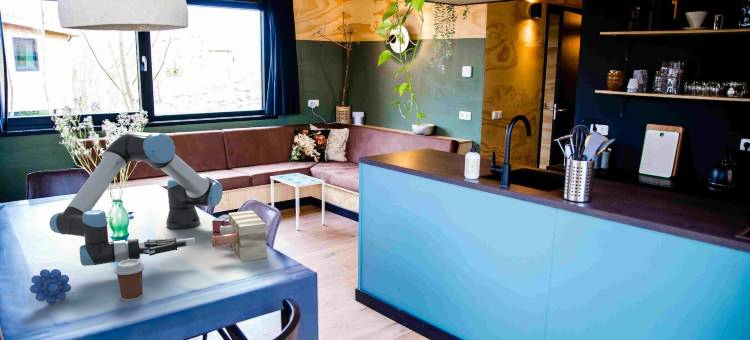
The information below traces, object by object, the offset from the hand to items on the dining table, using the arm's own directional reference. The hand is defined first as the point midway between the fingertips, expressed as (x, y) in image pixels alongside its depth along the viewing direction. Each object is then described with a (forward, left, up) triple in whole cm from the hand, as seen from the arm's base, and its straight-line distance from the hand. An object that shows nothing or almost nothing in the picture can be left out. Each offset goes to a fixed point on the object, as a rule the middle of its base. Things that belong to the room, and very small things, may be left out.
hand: (194, 241), depth 212 cm
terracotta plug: (+2, +13, -3) cm, 14 cm away
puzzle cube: (-22, +17, -9) cm, 30 cm away
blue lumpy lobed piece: (+19, -47, -9) cm, 51 cm away
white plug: (-10, +19, -3) cm, 22 cm away
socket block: (-4, +21, -9) cm, 23 cm away
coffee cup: (+24, -24, -9) cm, 35 cm away
